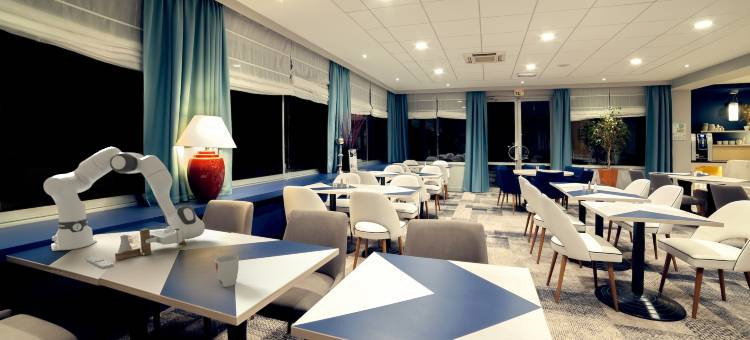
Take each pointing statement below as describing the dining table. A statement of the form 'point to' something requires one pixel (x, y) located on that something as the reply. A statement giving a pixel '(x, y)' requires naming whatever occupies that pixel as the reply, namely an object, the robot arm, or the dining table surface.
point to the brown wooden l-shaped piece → (137, 247)
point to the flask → (124, 244)
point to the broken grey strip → (99, 262)
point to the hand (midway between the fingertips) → (143, 240)
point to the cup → (227, 269)
